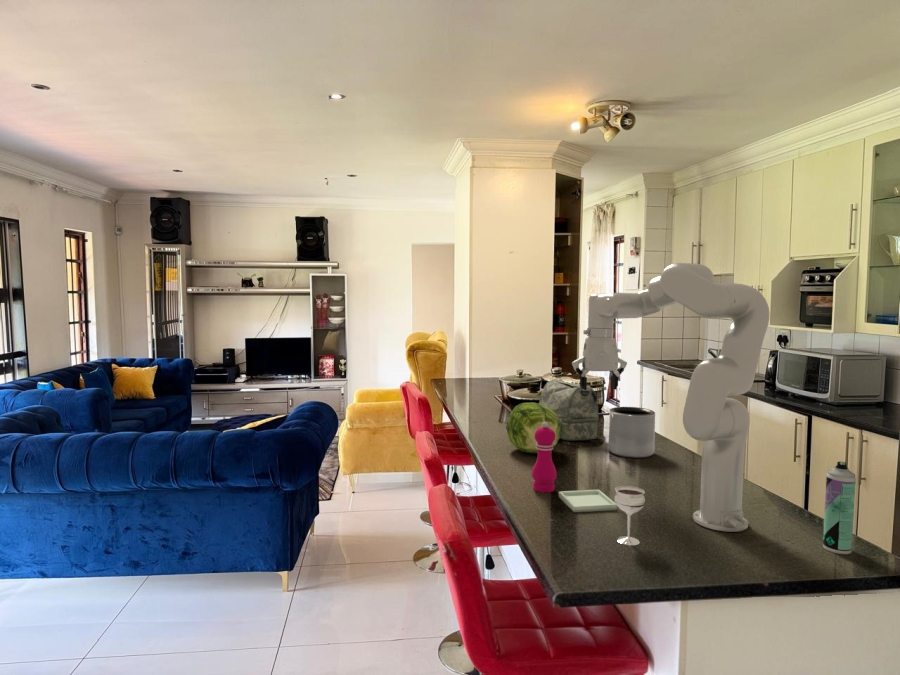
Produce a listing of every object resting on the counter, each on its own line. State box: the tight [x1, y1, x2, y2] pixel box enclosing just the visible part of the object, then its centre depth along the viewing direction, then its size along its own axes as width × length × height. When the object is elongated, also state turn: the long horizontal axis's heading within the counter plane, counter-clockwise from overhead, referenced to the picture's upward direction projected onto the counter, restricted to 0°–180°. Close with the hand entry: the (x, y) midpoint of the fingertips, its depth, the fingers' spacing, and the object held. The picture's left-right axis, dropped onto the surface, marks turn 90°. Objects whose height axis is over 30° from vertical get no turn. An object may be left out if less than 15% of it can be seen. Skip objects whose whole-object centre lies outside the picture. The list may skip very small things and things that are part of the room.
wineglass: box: [614, 485, 646, 546], centre depth 137 cm, size 7×7×12 cm
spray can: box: [822, 460, 857, 555], centre depth 133 cm, size 6×6×20 cm
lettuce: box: [506, 401, 561, 454], centre depth 213 cm, size 19×23×18 cm
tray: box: [558, 489, 618, 513], centre depth 162 cm, size 12×12×2 cm
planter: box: [607, 406, 656, 459], centre depth 213 cm, size 16×16×16 cm
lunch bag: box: [538, 378, 600, 441], centre depth 240 cm, size 26×18×22 cm
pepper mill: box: [531, 422, 558, 493], centre depth 173 cm, size 7×7×20 cm
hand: (598, 389), depth 182 cm, fingers open, 9 cm apart
